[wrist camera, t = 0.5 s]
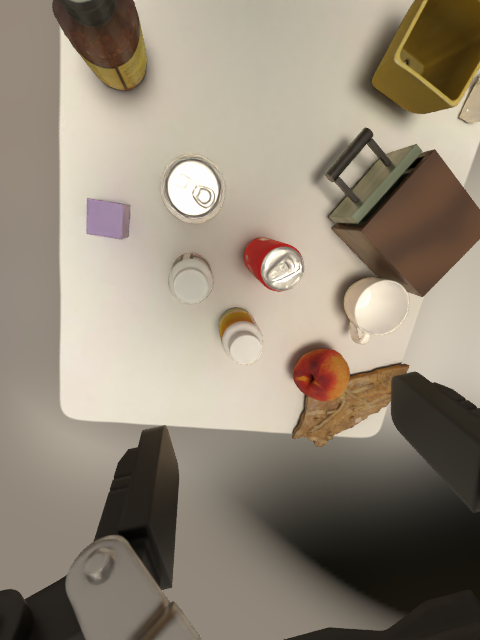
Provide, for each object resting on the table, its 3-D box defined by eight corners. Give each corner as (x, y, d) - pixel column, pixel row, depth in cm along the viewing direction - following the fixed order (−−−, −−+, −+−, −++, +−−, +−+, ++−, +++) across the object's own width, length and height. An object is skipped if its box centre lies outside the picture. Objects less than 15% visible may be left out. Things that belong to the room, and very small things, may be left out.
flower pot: (350, 92, 40) (393, 58, 31) (389, 16, 38) (445, -41, 29) (403, 130, 42) (456, 108, 33) (442, 61, 40) (509, 19, 31)
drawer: (302, 189, 42) (321, 185, 35) (358, 123, 40) (388, 106, 34) (379, 270, 47) (409, 278, 40) (431, 214, 45) (470, 214, 39)
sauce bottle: (138, 20, 34) (119, -135, 17) (153, 89, 37) (151, 18, 20) (76, 26, 33) (-12, -130, 16) (97, 97, 36) (41, 29, 19)
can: (202, 231, 43) (204, 237, 31) (159, 203, 41) (145, 198, 29) (227, 188, 41) (240, 177, 30) (184, 157, 40) (180, 134, 28)
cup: (389, 278, 48) (418, 287, 42) (365, 337, 51) (390, 355, 45) (344, 266, 47) (367, 274, 40) (322, 328, 49) (341, 345, 43)
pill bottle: (179, 295, 45) (175, 316, 36) (166, 259, 43) (158, 271, 34) (215, 284, 45) (221, 302, 36) (204, 247, 43) (206, 256, 34)
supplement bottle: (210, 325, 47) (214, 351, 38) (236, 300, 46) (247, 320, 37) (235, 348, 49) (244, 378, 39) (261, 324, 48) (276, 349, 39)
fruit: (307, 331, 49) (327, 352, 42) (346, 353, 51) (372, 377, 44) (280, 371, 51) (294, 398, 43) (319, 391, 53) (339, 420, 45)
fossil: (293, 450, 56) (296, 457, 55) (286, 387, 52) (288, 392, 50) (403, 423, 58) (408, 429, 57) (405, 360, 54) (411, 365, 52)
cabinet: (331, 228, 45) (360, 231, 37) (390, 161, 43) (435, 148, 35) (385, 283, 49) (422, 297, 40) (441, 224, 47) (492, 226, 39)
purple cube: (97, 199, 40) (86, 198, 36) (130, 205, 40) (123, 204, 37) (96, 232, 41) (86, 234, 37) (128, 237, 42) (121, 239, 38)
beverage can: (285, 260, 45) (314, 275, 34) (255, 281, 46) (274, 302, 34) (266, 229, 44) (291, 234, 32) (235, 250, 44) (249, 262, 33)
